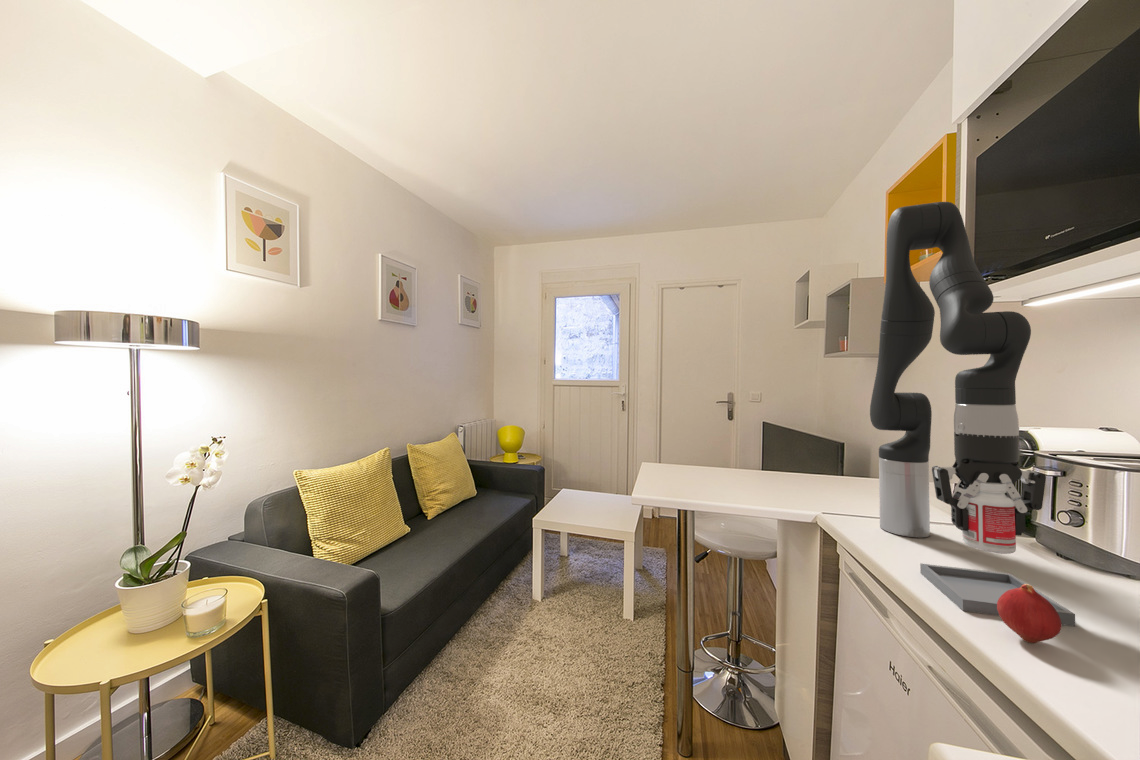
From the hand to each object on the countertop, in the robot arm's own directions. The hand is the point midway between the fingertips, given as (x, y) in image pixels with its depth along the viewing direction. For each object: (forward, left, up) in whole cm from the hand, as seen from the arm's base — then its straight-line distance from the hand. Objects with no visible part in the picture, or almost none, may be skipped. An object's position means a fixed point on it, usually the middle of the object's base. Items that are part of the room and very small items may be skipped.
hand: (987, 531), depth 66 cm
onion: (+13, -2, -11) cm, 17 cm away
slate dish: (0, 0, -11) cm, 11 cm away
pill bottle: (0, 0, -3) cm, 3 cm away
